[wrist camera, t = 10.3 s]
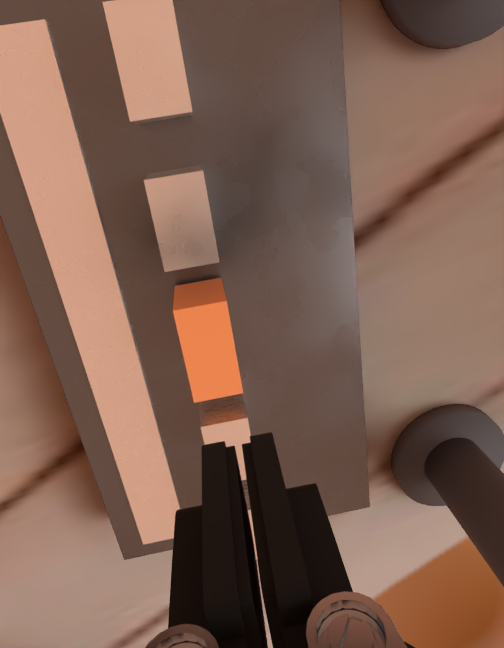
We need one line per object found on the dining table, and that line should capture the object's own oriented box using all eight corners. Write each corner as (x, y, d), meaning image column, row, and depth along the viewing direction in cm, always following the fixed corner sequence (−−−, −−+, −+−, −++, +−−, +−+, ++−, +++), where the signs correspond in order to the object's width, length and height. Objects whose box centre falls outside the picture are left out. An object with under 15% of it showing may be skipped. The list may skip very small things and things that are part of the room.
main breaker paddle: (221, 277, 20) (226, 301, 17) (235, 359, 21) (243, 393, 19) (174, 286, 20) (172, 310, 17) (193, 367, 21) (194, 402, 18)
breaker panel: (314, -28, 19) (367, -95, 13) (352, 471, 29) (391, 550, 24) (-37, 21, 18) (-136, -29, 12) (130, 518, 28) (116, 611, 23)
